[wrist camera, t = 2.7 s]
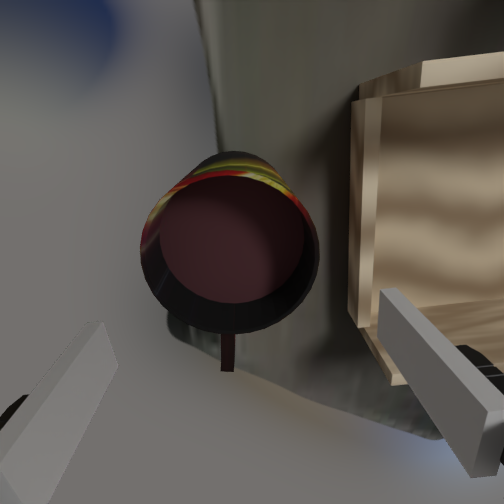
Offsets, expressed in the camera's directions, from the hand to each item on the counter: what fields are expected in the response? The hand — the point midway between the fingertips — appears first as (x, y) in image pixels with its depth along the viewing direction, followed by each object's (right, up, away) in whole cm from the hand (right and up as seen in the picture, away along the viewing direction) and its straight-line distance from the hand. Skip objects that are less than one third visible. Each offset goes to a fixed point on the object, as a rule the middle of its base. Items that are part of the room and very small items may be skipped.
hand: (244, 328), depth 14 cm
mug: (0, +6, +14) cm, 15 cm away
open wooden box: (+20, +8, +14) cm, 25 cm away
